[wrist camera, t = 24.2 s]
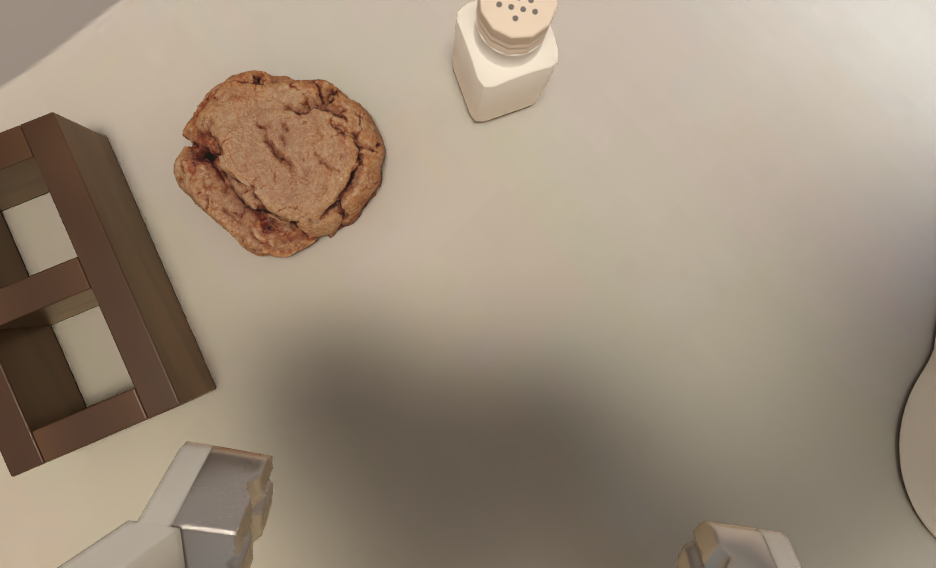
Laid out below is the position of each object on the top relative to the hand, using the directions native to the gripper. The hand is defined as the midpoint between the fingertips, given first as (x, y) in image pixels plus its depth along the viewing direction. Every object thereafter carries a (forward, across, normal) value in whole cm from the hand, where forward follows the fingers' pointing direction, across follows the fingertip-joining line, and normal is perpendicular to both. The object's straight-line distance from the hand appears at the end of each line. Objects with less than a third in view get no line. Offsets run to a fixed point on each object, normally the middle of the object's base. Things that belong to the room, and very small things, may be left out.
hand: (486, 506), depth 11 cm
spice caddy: (+18, +20, +12) cm, 29 cm away
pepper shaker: (+27, 0, -1) cm, 27 cm away
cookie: (+23, +10, +4) cm, 26 cm away
